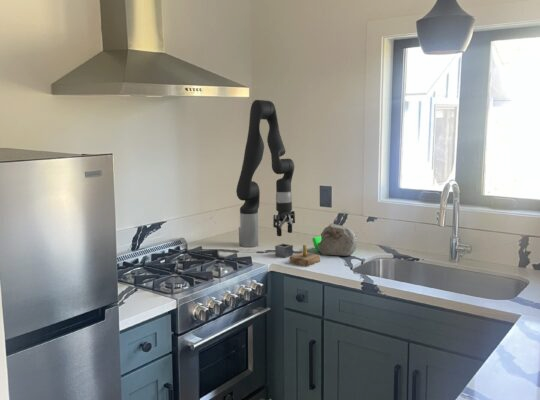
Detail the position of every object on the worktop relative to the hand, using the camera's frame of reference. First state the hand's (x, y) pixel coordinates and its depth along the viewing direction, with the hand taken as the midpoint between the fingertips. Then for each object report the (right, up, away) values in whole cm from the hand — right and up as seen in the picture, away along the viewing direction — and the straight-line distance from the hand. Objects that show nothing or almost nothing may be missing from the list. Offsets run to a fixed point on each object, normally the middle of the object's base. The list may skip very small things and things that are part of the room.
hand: (284, 234), depth 261 cm
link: (0, -10, +2) cm, 10 cm away
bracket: (+23, -8, +16) cm, 29 cm away
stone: (+25, -10, +2) cm, 27 cm away
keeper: (+9, -12, -11) cm, 19 cm away
